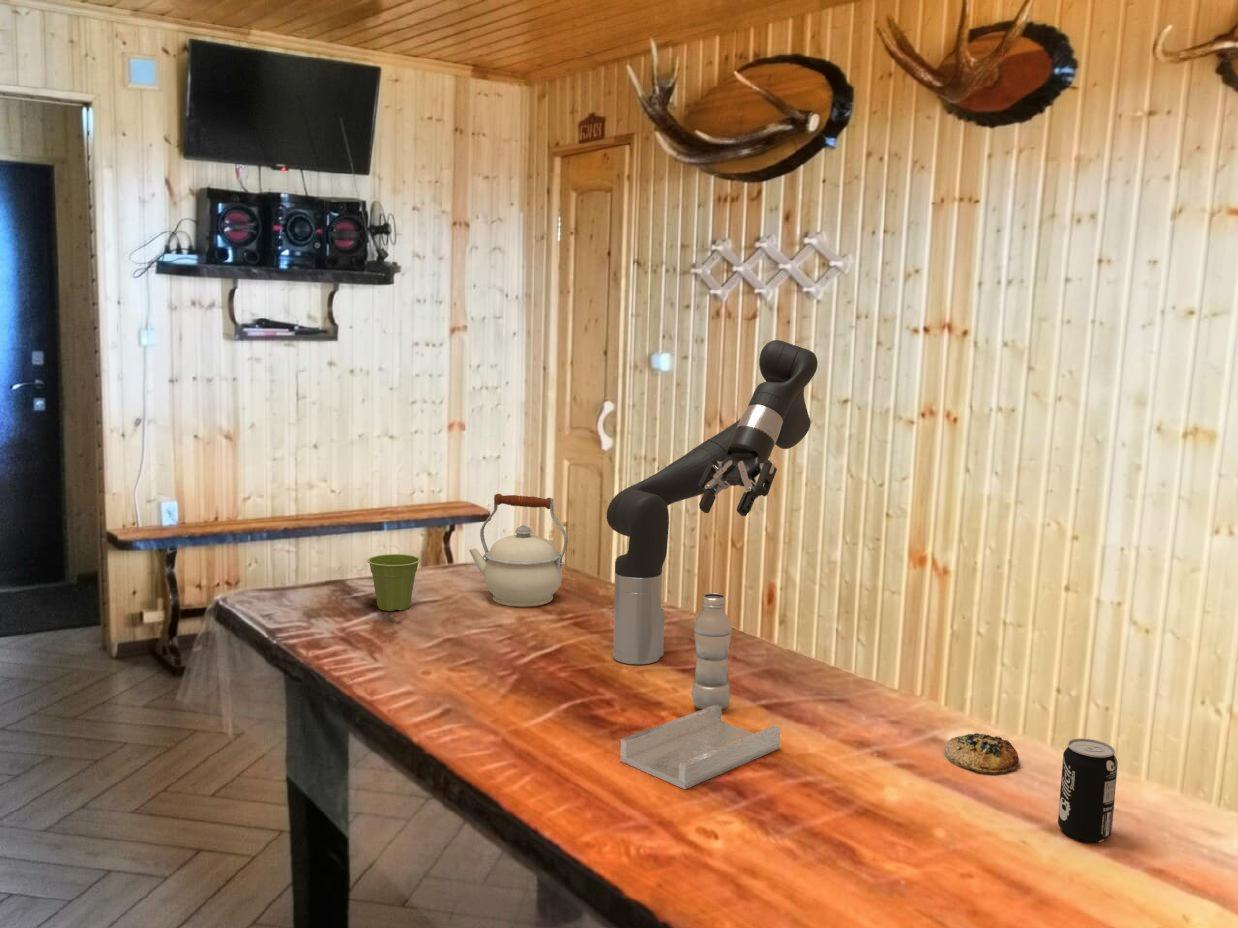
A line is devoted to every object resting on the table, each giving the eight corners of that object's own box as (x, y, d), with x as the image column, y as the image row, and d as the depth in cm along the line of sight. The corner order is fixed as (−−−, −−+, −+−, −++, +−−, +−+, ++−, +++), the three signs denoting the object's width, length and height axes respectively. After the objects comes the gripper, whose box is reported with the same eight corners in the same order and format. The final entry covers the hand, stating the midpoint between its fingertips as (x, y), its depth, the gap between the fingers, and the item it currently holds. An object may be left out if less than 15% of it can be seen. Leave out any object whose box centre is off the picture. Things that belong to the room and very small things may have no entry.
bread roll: (1021, 753, 169) (1022, 724, 167) (1014, 789, 159) (1015, 759, 158) (948, 742, 173) (948, 714, 172) (937, 777, 164) (937, 747, 163)
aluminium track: (715, 724, 178) (716, 704, 178) (779, 748, 169) (780, 727, 168) (620, 761, 163) (620, 738, 162) (684, 789, 153) (685, 766, 153)
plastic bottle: (728, 717, 182) (732, 602, 179) (688, 713, 183) (691, 599, 180) (732, 703, 188) (735, 592, 185) (693, 700, 189) (696, 589, 186)
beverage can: (1048, 821, 146) (1055, 737, 144) (1094, 820, 146) (1102, 736, 145) (1072, 845, 139) (1079, 757, 138) (1121, 844, 140) (1128, 756, 138)
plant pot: (415, 615, 239) (414, 565, 237) (362, 614, 239) (361, 564, 238) (425, 601, 251) (425, 554, 249) (374, 600, 251) (374, 552, 249)
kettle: (579, 594, 259) (581, 493, 256) (550, 614, 242) (551, 505, 238) (486, 584, 267) (486, 485, 264) (451, 602, 250) (451, 497, 246)
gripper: (798, 448, 191) (764, 526, 185) (736, 446, 201) (702, 520, 195) (776, 424, 186) (742, 503, 180) (714, 423, 197) (679, 498, 191)
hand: (721, 512), depth 188 cm, fingers open, 8 cm apart
